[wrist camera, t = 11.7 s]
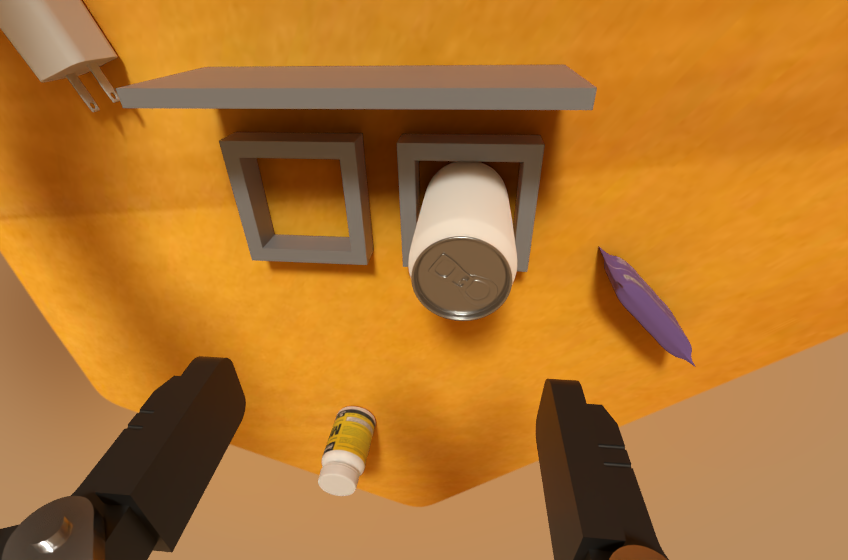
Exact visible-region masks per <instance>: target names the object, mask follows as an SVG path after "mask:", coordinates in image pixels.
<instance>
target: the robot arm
mask: <svg viewBox="0 0 848 560" xmlns="http://www.w3.org/2000/svg"><path fill="white" fill-rule="evenodd" d="M245 404H246V402H245V396H244V393H243V390H242V387H241V385H240V382H239V379H238V376H237V374H236V371H235V368H234V365H233V363H232V361H231V360H230V359H228V358H217V357H197V358H195V359H194V360H193V361H192V362H191V363H190V364H189V366H188V367H187V368H186V370H185V371H184V372H183V374H182V375H181V376H174V377H172V378H171V379H170V380H168V381H167V382H166V383H164V384H163V385H162V386H160V387H159V388H158V389H156V390H155V391H154V392H153V393H152V395H151V396H150V397H149V398H148V400H147V401H146V402H145V404H144V405H143V406H142V407H141V409H140V412H139V413H137V414H136V415H135V416H134V418H133V419H132V420H131V421H130V423H129V424H128V428H127V429H124V430H123V432H122V433H121V434H120V435H119V437H118V438H117V439H116V440H115V442H114V443H113V444H112V446H111V447H110V448H109V449H108V451H107V452H106V453H105V455H104V456H103V457H102V458H101V459H100V461H99V462H98V463H97V465H96V466H95V467H94V468H93V470H92V471H91V472H90V474H89V475H88V476H87V477H86V479H85V480H84V481H83V483H82V484H81V485H80V486H79V487H78V488H77V490H76V491H75V492H74V493H73V494H72V495H71V496H67V497H64V498H60V499H57V500H54V501H52V502H50V503H48V504H46V505H44V506H42V507H41V508H39V509H37V510H36V511H35V512H33V513H32V514H31V515H29V516H28V517H27V518H26V519H25V520H24V521H23V522H22V523H21V524H20V525H16V526H11V527H7V528H3V529H0V560H147V559H148V557H149V555H150V554H151V552H152V550H154V551H165V552H173V550H174V548H175V546H176V544H177V542H178V540H179V539H180V537H181V535H182V533H183V531H184V529H185V527H186V525H187V523H188V522H189V520H190V518H191V516H192V514H193V512H194V510H195V508H196V506H197V504H198V503H199V501H200V499H201V497H202V495H203V493H204V491H205V489H206V487H207V485H208V484H209V482H210V480H211V478H212V476H213V474H214V472H215V470H216V468H217V467H218V465H219V463H220V461H221V459H222V457H223V455H224V453H225V451H226V449H227V447H228V446H229V444H230V442H231V440H232V438H233V436H234V434H235V432H236V431H237V429H238V427H239V425H240V423H241V421H242V419H243V416H244V412H245ZM536 443H537V450H538V456H539V463H540V469H541V476H542V482H543V488H544V495H545V502H546V509H547V515H548V521H549V528H550V535H551V541H552V548H553V554H554V560H669V559H668V558H667V556H666V555H665V554H664V552H663V550H662V548H661V547H660V544H659V542H658V540H657V537H656V535H655V532H654V529H653V526H652V523H651V520H650V517H649V514H648V511H647V508H646V505H645V502H644V500H643V497H642V494H641V491H640V488H639V485H638V482H637V480H636V477H635V474H634V471H633V469H632V468H631V462H630V459H629V456H628V453H627V451H626V450H625V445H624V442H623V439H622V436H621V433H620V430H619V427H618V424H617V423H616V422H615V421H614V419H613V418H612V417H611V416H610V414H609V413H608V412H607V411H606V409H605V408H604V407H603V406H602V405H596V404H586V400H585V397H584V393H583V390H582V387H581V384H580V382H579V381H575V380H558V379H546V381H545V384H544V388H543V393H542V397H541V401H540V406H539V410H538V414H537V419H536Z"/></svg>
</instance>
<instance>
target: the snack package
mask: <svg viewBox="0 0 848 560" xmlns="http://www.w3.org/2000/svg"><path fill="white" fill-rule="evenodd" d="M598 247H599V246H598ZM599 249H600V251H601V253H602V255H603V257H604V268H605V271H606V273H607V275H608V277H609V280H610V282H611V284H612V286H613V288H614V291H615V293H616V295H617V297H618V299H619V300H620V302H621V303H622V305H623V306H624V307H625V308H626V309H627V310H628V311H629V312H630V313H631V314H632V315H633V316H634V317H635V318H636V319H637V320H638V322H639V323H640V324H641V325H642V326H643V327H644V328H645V329H646V330H647V331H648V332H649V333H650V334H651V335H652V336H653V337H654V338H655V340H656V341H657V342H658V343H659V344H660V345H661V346H662V347H663V348H664V349H665V350H666V351H667V352H669V353H670V354H672V355H674V356H675V357H678V358H682V359H684V360H686V361H688V362H689V363H691V364H692V365H693V366H695V365H694V363H693V362H692V359H691V352H692V348H691V345H690V342H689V340H688V339H687V337H686V335H685V334H684V332H683V330H682V329H681V327H680V326H679V324H678V322H677V320H676V319H675V317H674V315H673V314H672V312H671V311H670V309H669V308H668V307H667V306H666V304H665V303H664V302H663V301H662V300H661V299H660V298H659V297H658V296H657V295H656V294H655V292H654V291H653V290H652V289H651V288H650V287H649V286H648V285H647V283H646V282H645V281H644V280H643V279H642V278H641V277H640V276H639V274H638V273H637V272H636V271H635V270H634V269H633V268H632V267H631V266H630V265H629V264H628V263H627V262H625V261H624V260H623V259H621V258H619V257H617V256H612V255H609V254H608V253H606V252H605V251H603V250H602V249H601V248H600V247H599Z"/></svg>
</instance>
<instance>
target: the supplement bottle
mask: <svg viewBox="0 0 848 560" xmlns="http://www.w3.org/2000/svg"><path fill="white" fill-rule="evenodd" d="M375 425H376V421H375V418H374V416H373V415H372V414H371V413H370V412H369V411H368V410H366V409H364V408H361V407H356V406H349V407H345V408H343V409H341V410H340V411H339V412H338V414H337V416H336V419H335V422H334V425H333V428H332V431H331V434H330V436H329V439H328V442H327V445H326V448H325V451H324V453H323V457H322V466H323V467H322V469H321V472H320V476H319V479H318V484H319V486H320V487H321V488H322V489H323V490H324V491H325V492H327V493H330V494H332V495H337V496H347V495H351V494H352V493H354V492H355V490H356V487H357V483H358V480H359V476H360V475H361V474H362V473H363V471H364V469H365V465H366V461H367V457H368V453H369V449H370V445H371V441H372V437H373V433H374V429H375Z"/></svg>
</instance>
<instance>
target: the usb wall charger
mask: <svg viewBox="0 0 848 560" xmlns="http://www.w3.org/2000/svg"><path fill="white" fill-rule="evenodd" d="M0 28H1V30H2V31H3V32H4V34H5V35H6V36H7V38H8V39H9V40H10V42H11V43H12V44H13V46H14V47H15V48H16V50H17V51H18V52H19V54H20V55H21V56H22V58H23V59H24V60H25V62H26V63H27V64H28V66H29V67H30V68H31V70H32V71H33V72H34V73H35V75H36V76H37V77H38V79H39V80H40V81H41V82H48V81H54V80H59V79H64V78H67V79H68V80H69V81H70V83H71V84H72V85H73V87H74V88H75V90H76V91H77V92H78V94H79V95H80V97H81V98H82V99H83V101H84V102H85V103H86V104H87V106H88V107H89V108H90V110H91V111H92V112H96V111H100V109H99V107H98V105H97V104H96V102H95V101H94V99H93V98H92V96H91V95H90V93H89V92H88V90H87V89H86V88H85V86H84V85H83V83H82V82H81V81H80V79H79V78H78V76H79V75H83V74H85V73H88V72H90V71H91V72H92V74H93V75H94V77H95V78H96V79H97V81H98V82H99V84H100V85H101V87H102V88H103V90H104V91H105V92H106V94H107V95H108V96H109V98H110V99H111V100H112V102H114V103H115V102H118V101H120V99H119V97H118V95H117V93H116V92H115V90H114V88H113V87H112V85H111V84H110V82H109V81H108V79H107V78H106V76H105V75H104V74H103V72H102V71H101V69H100V68H99V67H100V66H102V65H104V64H106V63H108V62H110V61H112V60H114V59H116V58H117V57H118V56H117V54H116V53H115V51H114V50H113V48H112V47H111V45H110V44H109V42H108V41H107V39H106V38H105V36H104V34H103V33H102V31H101V30H100V28H99V27H98V25H97V24H96V22H95V21H94V19H93V17H92V16H91V14H90V13H89V11H88V10H87V8H86V7H85V5H84V4H83V2H82V1H81V0H0ZM111 93H113V94H114V95H115V97H116V99H114V98H113V97H112V96H111ZM90 103H93V104H94V105H95V109H94V108H92V107H91V106H90Z"/></svg>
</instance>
